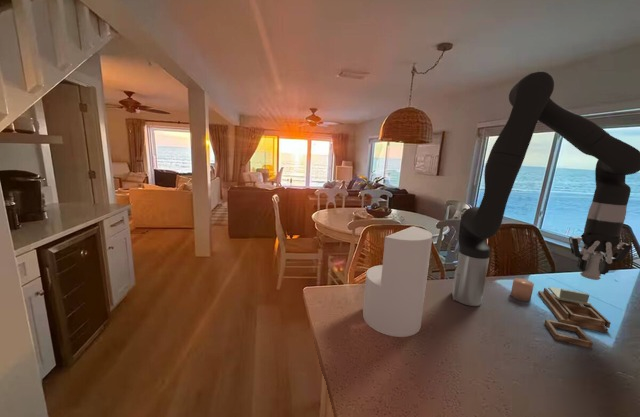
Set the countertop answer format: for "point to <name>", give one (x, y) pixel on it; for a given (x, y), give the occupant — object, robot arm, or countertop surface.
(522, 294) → the tan rounded block
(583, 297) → the cover
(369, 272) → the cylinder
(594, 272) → the rook chess piece
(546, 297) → the shallow wooden box
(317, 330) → the countertop surface
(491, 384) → the countertop surface
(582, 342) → the wooden square frame
